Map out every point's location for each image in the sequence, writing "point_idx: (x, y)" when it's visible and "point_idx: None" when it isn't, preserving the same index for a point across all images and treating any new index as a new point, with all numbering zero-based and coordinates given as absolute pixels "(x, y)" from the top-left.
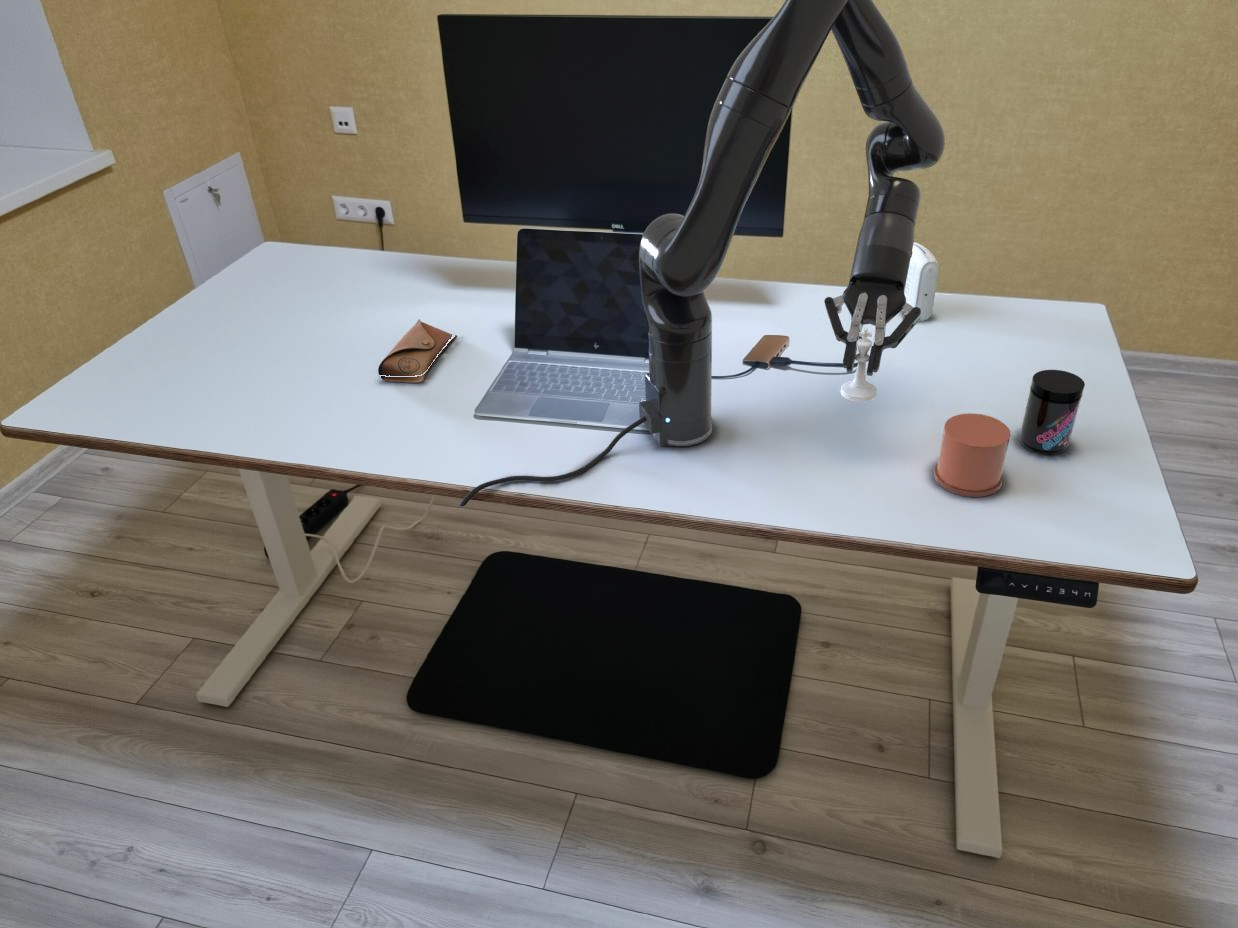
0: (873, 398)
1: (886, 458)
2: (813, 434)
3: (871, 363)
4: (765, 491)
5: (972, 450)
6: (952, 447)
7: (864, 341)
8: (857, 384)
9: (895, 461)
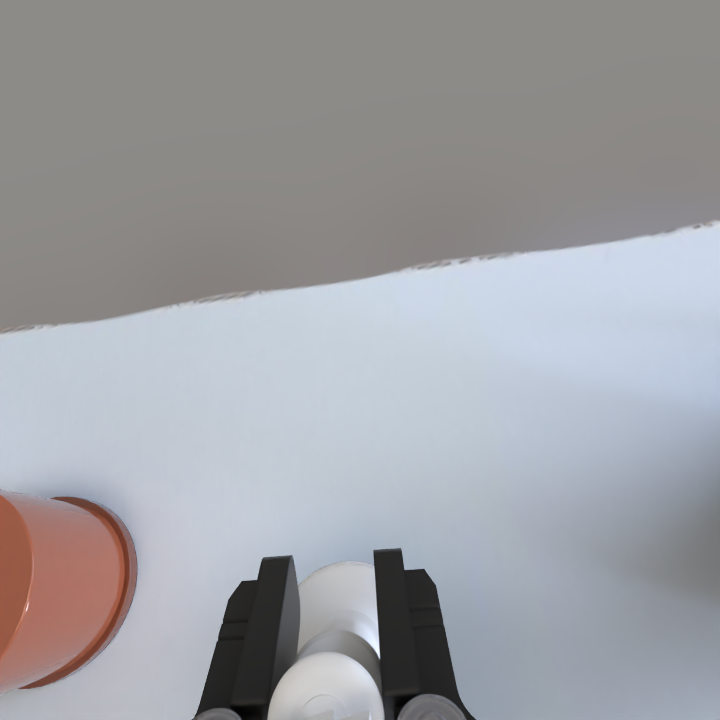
0: None
1: None
2: (487, 666)
3: (266, 586)
4: (498, 359)
5: None
6: (33, 506)
7: (320, 697)
8: (350, 618)
9: None
